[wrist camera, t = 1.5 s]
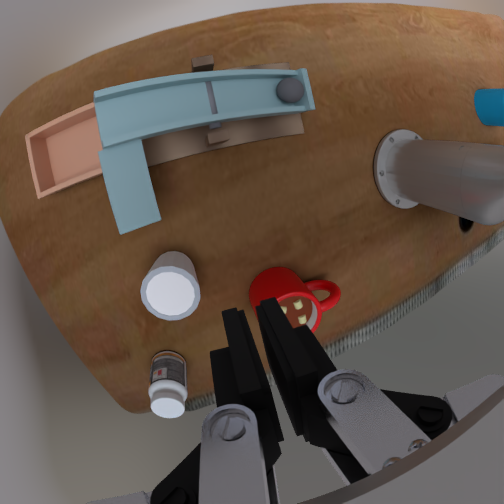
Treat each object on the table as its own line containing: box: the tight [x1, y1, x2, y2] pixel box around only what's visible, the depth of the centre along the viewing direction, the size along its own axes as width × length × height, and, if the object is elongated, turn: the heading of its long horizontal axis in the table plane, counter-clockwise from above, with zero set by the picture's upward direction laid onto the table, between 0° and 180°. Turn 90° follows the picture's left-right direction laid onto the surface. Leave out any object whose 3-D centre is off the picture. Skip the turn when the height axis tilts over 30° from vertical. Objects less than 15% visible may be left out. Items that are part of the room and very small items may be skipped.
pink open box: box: [25, 102, 103, 199], centre depth 27 cm, size 10×8×5 cm
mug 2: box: [474, 89, 504, 126], centre depth 34 cm, size 12×8×8 cm
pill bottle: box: [149, 351, 187, 418], centre depth 37 cm, size 6×6×10 cm
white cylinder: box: [140, 251, 200, 320], centre depth 34 cm, size 7×7×7 cm
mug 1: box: [249, 267, 341, 333], centre depth 37 cm, size 8×12×8 cm, turn 105°
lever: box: [94, 68, 315, 235], centre depth 25 cm, size 22×13×4 cm, turn 102°
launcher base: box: [141, 55, 304, 167], centre depth 27 cm, size 23×10×8 cm, turn 102°
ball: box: [277, 78, 304, 103], centre depth 27 cm, size 3×3×3 cm
